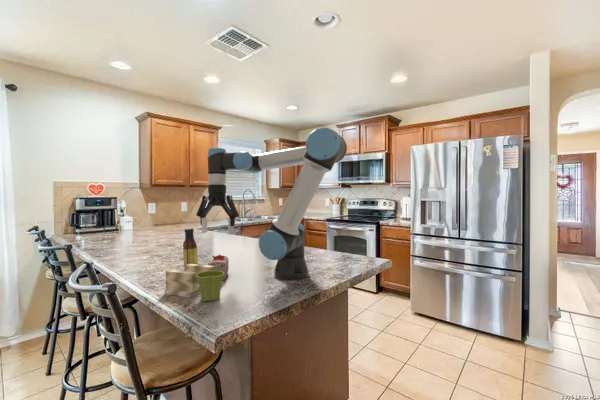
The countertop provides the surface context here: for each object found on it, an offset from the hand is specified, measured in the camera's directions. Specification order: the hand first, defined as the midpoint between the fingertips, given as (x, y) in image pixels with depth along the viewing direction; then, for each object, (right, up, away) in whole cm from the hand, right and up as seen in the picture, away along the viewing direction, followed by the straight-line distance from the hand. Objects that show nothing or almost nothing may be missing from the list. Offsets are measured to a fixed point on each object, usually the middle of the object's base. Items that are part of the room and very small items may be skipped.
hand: (217, 233), depth 126 cm
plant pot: (+5, -20, -26) cm, 33 cm away
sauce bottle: (-17, -19, +14) cm, 29 cm away
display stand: (-6, -20, -16) cm, 26 cm away
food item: (0, -20, 0) cm, 20 cm away
